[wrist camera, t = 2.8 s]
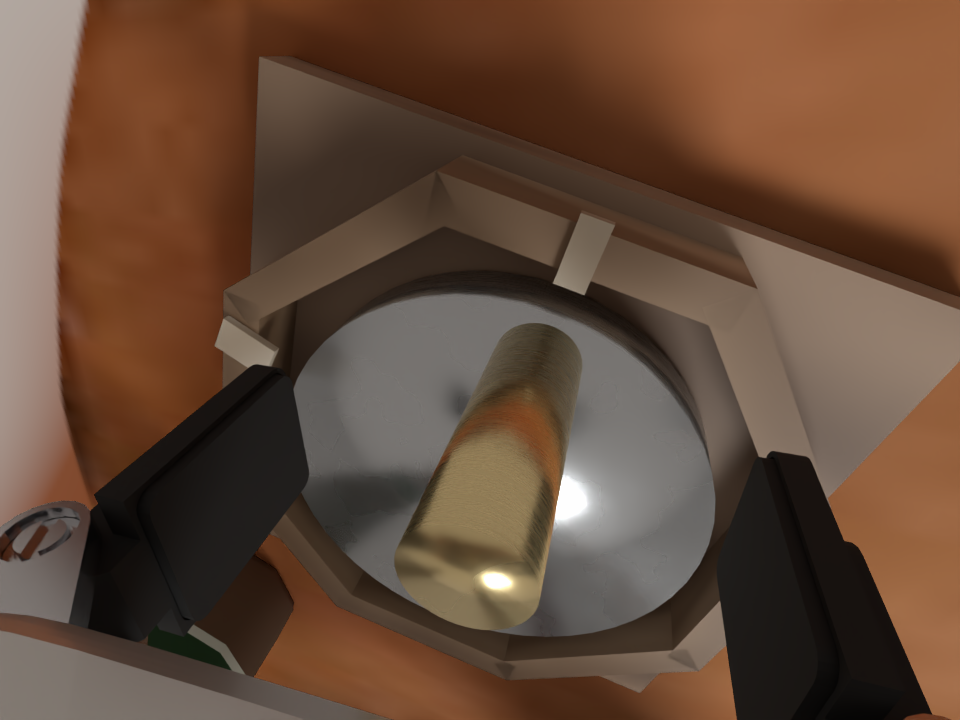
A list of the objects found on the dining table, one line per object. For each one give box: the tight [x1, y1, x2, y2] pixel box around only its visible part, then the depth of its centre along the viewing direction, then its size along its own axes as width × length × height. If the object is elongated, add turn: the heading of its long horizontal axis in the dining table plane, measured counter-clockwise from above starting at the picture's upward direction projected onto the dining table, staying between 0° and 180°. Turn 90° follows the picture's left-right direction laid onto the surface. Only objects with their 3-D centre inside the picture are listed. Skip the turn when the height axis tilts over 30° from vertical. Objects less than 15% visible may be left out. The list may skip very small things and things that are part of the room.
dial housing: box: [215, 56, 960, 693], centre depth 19 cm, size 20×20×4 cm
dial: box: [293, 271, 716, 637], centre depth 15 cm, size 14×14×9 cm
